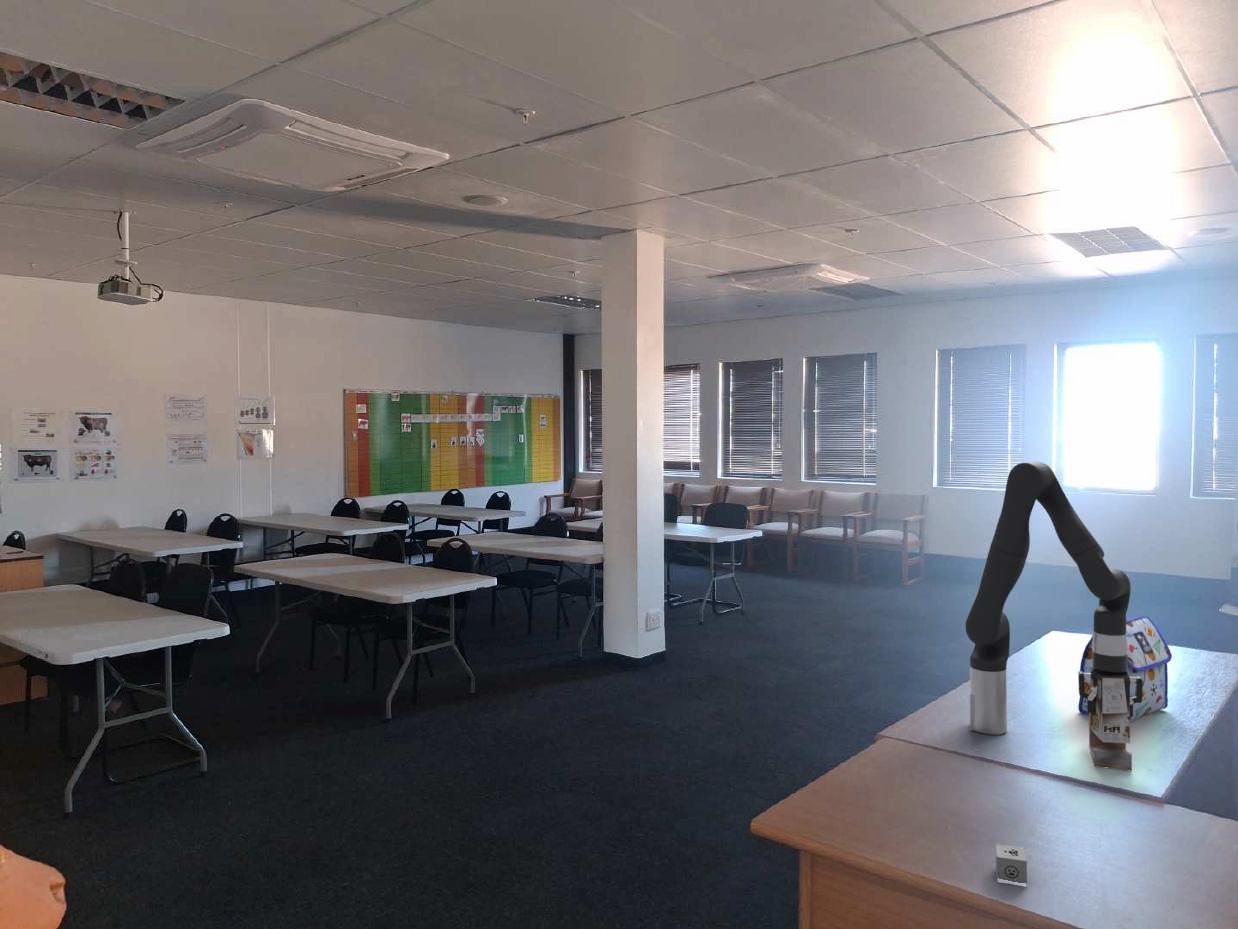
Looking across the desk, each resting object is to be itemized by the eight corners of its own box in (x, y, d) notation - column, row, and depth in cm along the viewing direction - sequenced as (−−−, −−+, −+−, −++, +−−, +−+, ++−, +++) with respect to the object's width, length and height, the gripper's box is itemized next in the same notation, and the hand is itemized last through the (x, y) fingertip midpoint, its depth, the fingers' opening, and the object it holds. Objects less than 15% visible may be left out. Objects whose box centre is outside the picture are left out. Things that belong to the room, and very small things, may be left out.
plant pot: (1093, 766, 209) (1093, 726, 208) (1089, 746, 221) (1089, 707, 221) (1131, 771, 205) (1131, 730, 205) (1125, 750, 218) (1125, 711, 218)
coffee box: (1131, 744, 207) (1131, 678, 206) (1102, 742, 208) (1101, 677, 208) (1117, 730, 216) (1117, 667, 215) (1089, 729, 217) (1089, 666, 217)
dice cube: (1026, 888, 157) (1026, 861, 156) (997, 883, 158) (996, 857, 158) (1024, 874, 161) (1024, 848, 161) (995, 870, 163) (995, 844, 163)
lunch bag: (1134, 730, 232) (1134, 632, 230) (1074, 713, 246) (1074, 620, 245) (1177, 713, 244) (1177, 619, 242) (1118, 698, 258) (1118, 609, 256)
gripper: (1077, 651, 211) (1078, 718, 212) (1145, 657, 205) (1145, 725, 206) (1075, 644, 218) (1076, 708, 219) (1141, 649, 212) (1141, 715, 212)
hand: (1109, 716), depth 212 cm, fingers closed on coffee box, 7 cm apart
